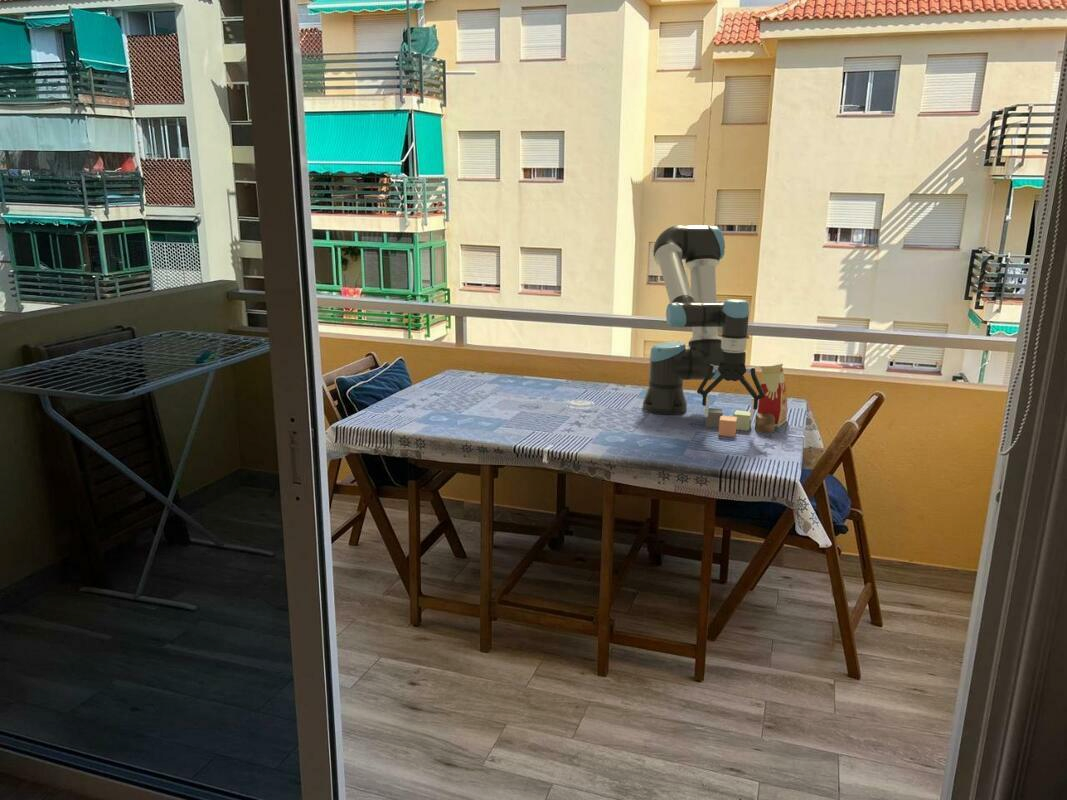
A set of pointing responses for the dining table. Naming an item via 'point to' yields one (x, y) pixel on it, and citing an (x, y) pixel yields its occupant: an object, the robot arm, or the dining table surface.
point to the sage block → (743, 420)
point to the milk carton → (773, 393)
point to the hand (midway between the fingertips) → (728, 417)
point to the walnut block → (765, 423)
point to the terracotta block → (727, 425)
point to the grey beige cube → (713, 417)
